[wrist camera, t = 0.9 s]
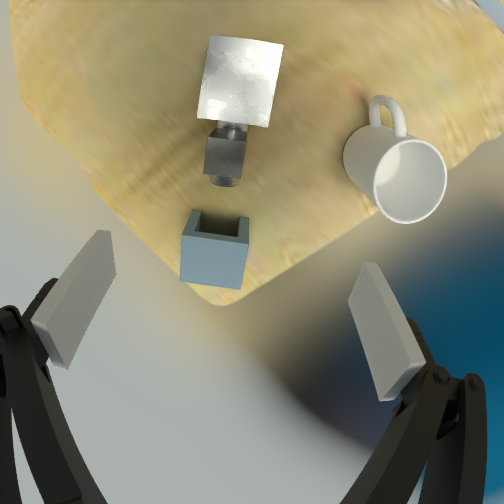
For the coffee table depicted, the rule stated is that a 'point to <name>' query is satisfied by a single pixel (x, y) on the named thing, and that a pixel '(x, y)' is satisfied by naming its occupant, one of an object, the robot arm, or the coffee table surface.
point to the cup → (395, 166)
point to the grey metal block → (239, 80)
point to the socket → (213, 255)
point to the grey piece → (226, 153)
